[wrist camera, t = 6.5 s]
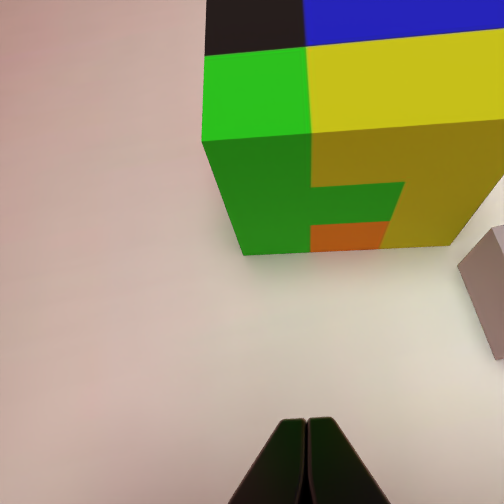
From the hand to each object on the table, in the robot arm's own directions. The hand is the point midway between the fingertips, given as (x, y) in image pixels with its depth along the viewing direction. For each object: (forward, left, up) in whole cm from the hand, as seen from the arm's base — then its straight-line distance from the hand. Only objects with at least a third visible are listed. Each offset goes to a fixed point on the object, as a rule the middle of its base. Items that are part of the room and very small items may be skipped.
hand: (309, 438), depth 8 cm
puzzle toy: (+12, -7, -14) cm, 19 cm away
